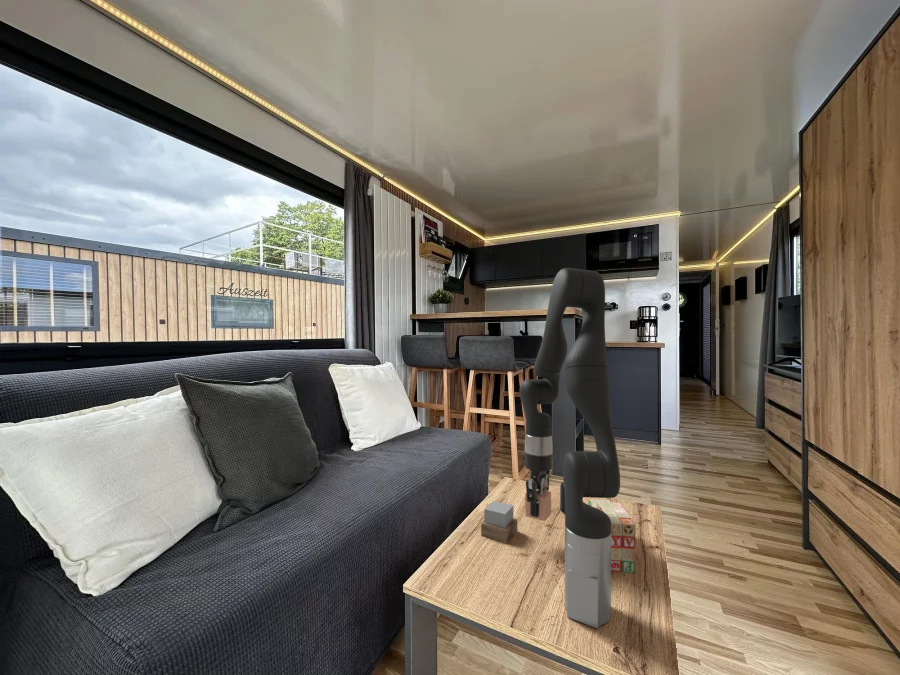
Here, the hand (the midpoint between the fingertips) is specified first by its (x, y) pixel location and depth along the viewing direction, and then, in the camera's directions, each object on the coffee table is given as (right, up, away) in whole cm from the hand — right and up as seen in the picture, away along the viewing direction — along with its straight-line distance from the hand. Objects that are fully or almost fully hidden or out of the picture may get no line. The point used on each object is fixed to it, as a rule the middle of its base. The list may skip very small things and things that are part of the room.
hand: (538, 511), depth 104 cm
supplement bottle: (+16, -10, +21) cm, 28 cm away
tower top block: (-10, -6, +7) cm, 13 cm away
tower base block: (-10, -10, +6) cm, 15 cm away
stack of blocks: (+19, -10, -1) cm, 22 cm away
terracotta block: (0, -1, 0) cm, 1 cm away
